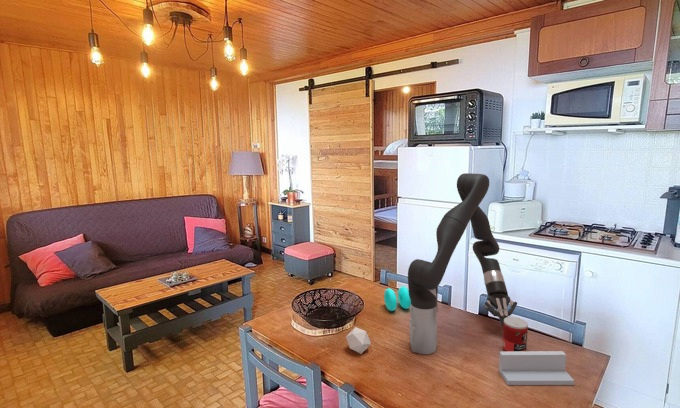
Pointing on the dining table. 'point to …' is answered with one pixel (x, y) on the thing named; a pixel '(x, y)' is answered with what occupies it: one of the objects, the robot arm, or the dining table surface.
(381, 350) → the dining table surface
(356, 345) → the die
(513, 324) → the canned food
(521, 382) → the stop board
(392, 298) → the pair of cyan discs
